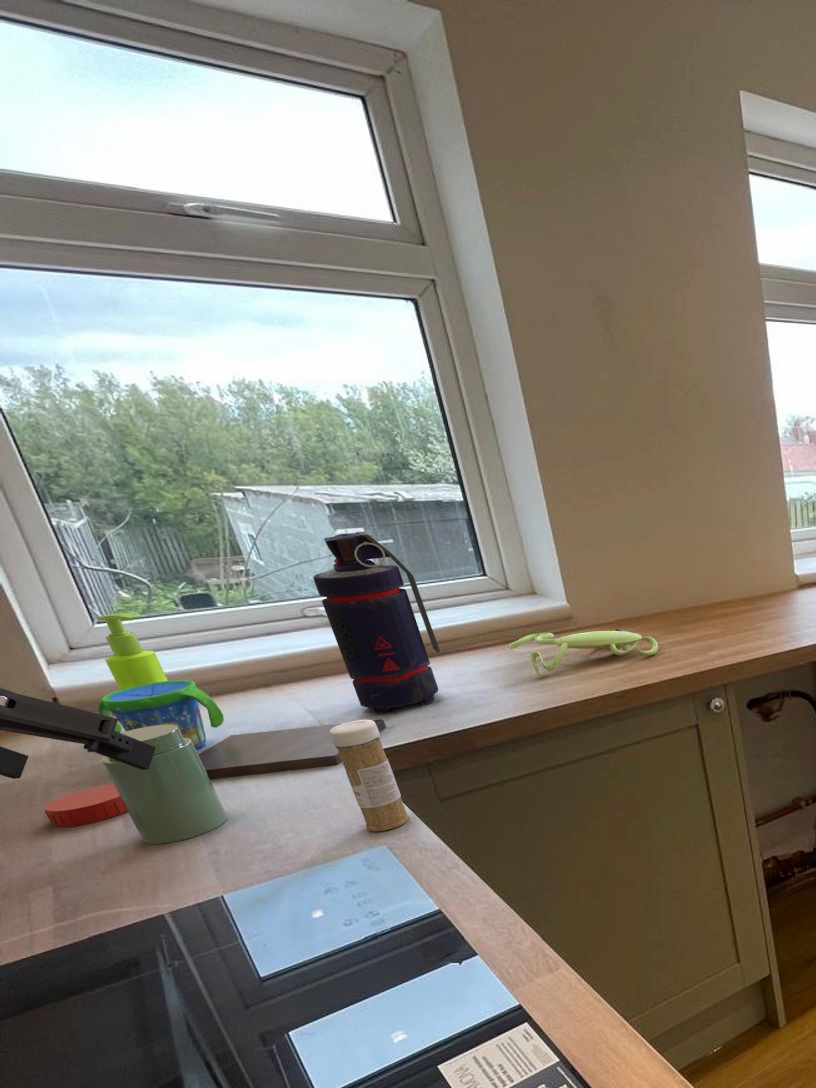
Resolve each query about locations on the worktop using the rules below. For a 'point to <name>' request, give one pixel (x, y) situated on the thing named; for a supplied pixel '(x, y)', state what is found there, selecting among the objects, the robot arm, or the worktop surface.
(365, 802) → the sprinkles bottle
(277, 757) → the board
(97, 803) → the lid
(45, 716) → the robot arm
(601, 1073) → the worktop surface
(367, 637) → the grenade
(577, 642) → the figurine
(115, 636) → the soap dispenser
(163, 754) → the jar
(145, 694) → the snack cup
